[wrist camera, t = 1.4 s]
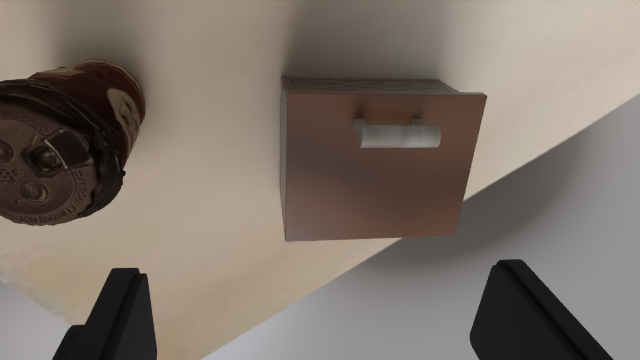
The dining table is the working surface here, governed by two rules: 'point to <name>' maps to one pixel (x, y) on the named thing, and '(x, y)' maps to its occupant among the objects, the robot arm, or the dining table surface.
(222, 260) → the dining table surface
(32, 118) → the coffee cup
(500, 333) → the robot arm
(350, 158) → the bread bin lid
